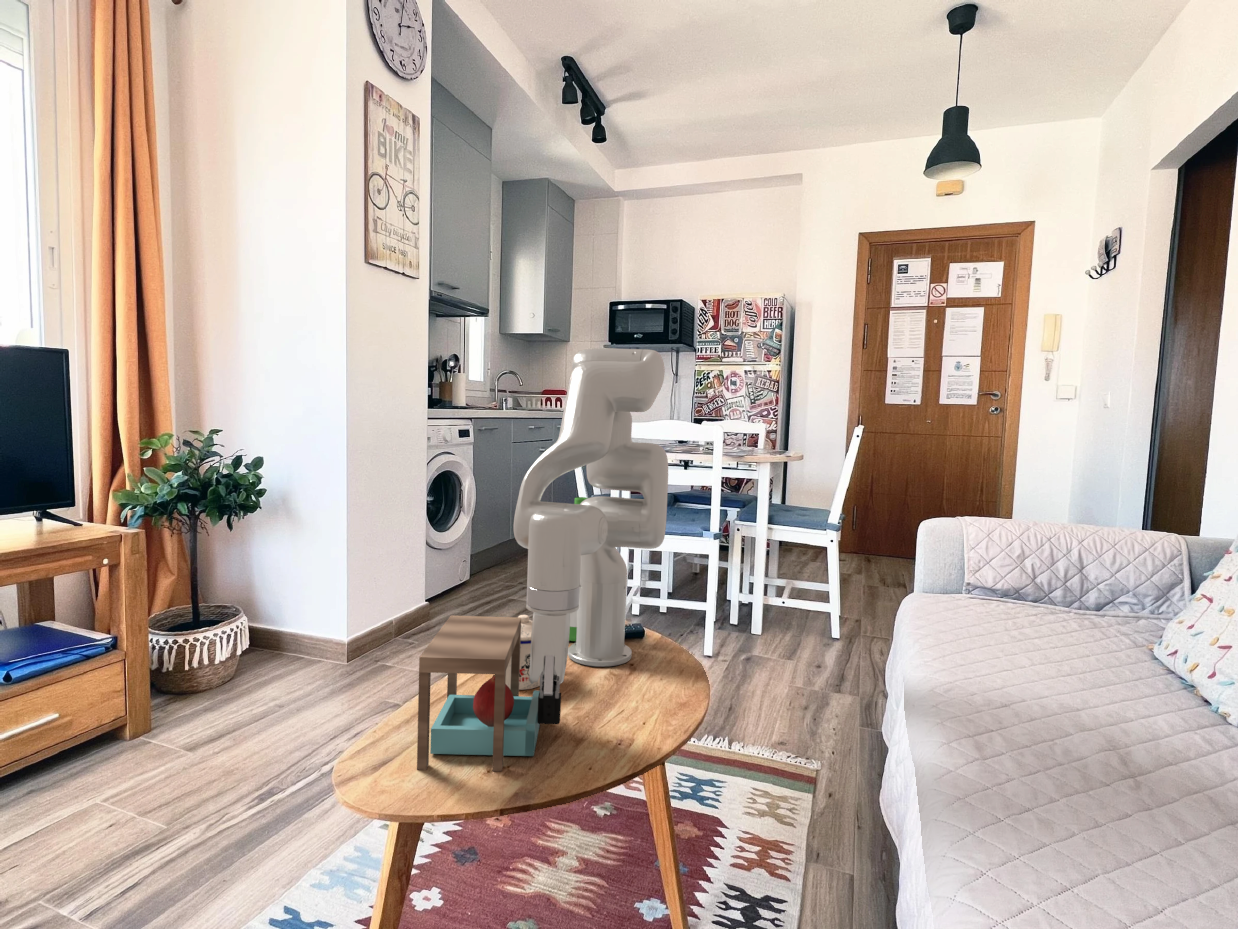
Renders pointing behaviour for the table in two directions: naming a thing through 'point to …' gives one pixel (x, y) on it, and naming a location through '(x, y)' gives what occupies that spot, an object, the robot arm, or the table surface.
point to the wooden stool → (470, 669)
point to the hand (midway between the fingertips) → (548, 721)
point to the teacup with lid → (523, 657)
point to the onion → (490, 702)
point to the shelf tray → (484, 728)
